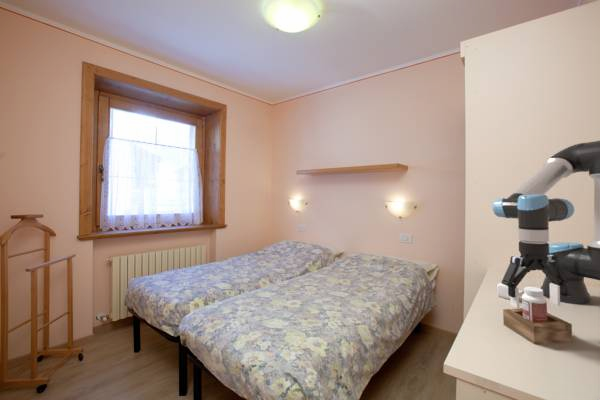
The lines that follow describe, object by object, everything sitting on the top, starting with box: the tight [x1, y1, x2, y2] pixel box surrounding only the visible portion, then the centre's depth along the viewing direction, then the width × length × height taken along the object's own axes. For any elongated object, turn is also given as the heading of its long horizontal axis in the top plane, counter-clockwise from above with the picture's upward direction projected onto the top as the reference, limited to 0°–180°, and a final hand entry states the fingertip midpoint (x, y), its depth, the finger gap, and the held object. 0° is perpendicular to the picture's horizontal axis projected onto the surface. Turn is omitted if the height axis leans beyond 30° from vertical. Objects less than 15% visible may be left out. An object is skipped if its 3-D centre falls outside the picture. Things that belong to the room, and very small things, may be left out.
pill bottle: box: [521, 286, 548, 323], centre depth 88 cm, size 6×6×11 cm
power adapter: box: [496, 282, 525, 300], centre depth 113 cm, size 11×5×6 cm, turn 25°
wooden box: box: [502, 307, 573, 345], centre depth 88 cm, size 12×12×6 cm
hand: (534, 305), depth 88 cm, fingers open, 13 cm apart
